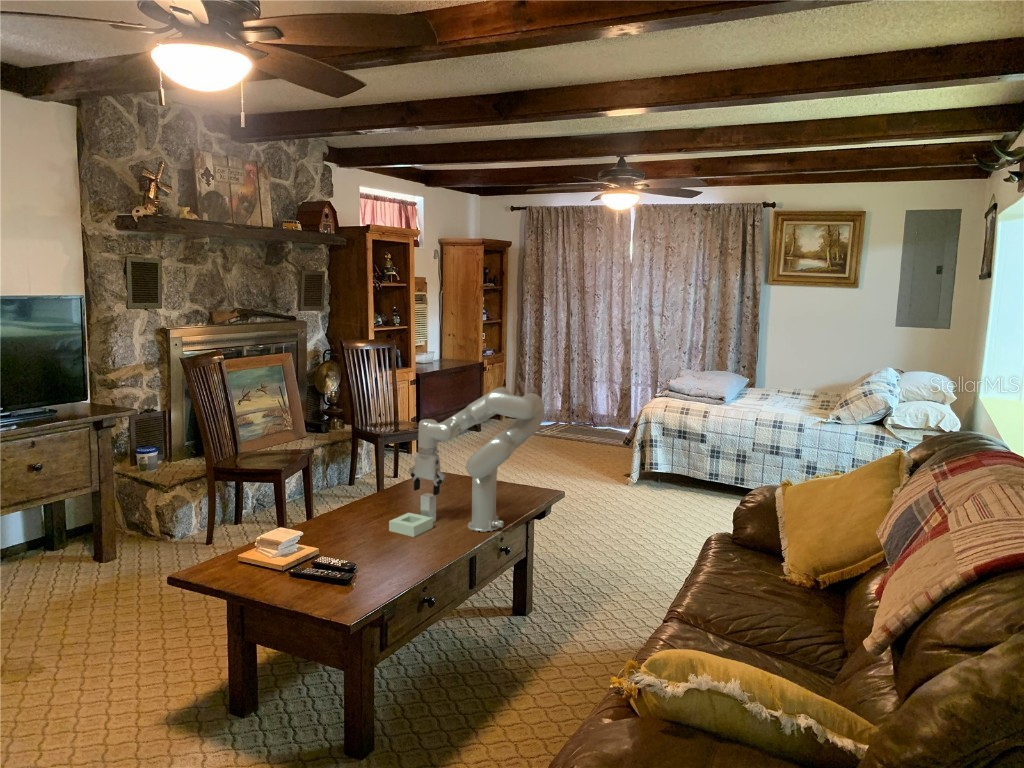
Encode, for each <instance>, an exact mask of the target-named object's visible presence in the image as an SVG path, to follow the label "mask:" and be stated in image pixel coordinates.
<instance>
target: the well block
mask: <svg viewBox="0 0 1024 768" xmlns="http://www.w3.org/2000/svg"><path fill="white" fill-rule="evenodd" d="M388 525H389V526H388V527H389V528H388V530H389V532H392V533H396V534H401V535H405V536H409V537H413V538H414V537H416V536H419V535H421V534H424V533H425V532H427V531H429V530H431V529H433V528H434V522H433V518H431V517H427V516H422V515H421V514H417V513H412V512H407V513H404V514H402V515H400V516H397V517H395V518H393V519H391V520H389V521H388Z"/></svg>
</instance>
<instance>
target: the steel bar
mask: <svg viewBox="0 0 1024 768" xmlns="http://www.w3.org/2000/svg"><path fill="white" fill-rule="evenodd" d="M419 497H420V515H422V516H427V517H431V518H433V523H435V522H436V521H437V495H433V493H430V492H425V493H422V494H421V495H420V496H419Z"/></svg>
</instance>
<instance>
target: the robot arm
mask: <svg viewBox="0 0 1024 768" xmlns="http://www.w3.org/2000/svg"><path fill="white" fill-rule="evenodd" d="M496 415H500V416H505V417H507V418H512V419H515V420H514V421H513V422H512V423H511V424H510V425H509V426H507V427H506V428H505V429H503V430H502V431H500V433H497V434H495V436H494V437H492V438H491V439H489V441H487V442H486V443H485V444H484V445H483V446H481V448H479V449H478V450H476V451H475V452H474V453H472V455H471V456H469V458H468V459H467V461H466V463H465V464H466V465H465V470H466V472H467V474H468V475H469V476H470V477H471V478H472V480H471V481H472V482H471V483H472V484H471V521H469V522H468V523H467V528H468V529H469V530H471V531H473V530H474V532H478V531H480V533H488V532H487V531H490V532H494V531H493V530H495V531H496V530H498V529H500V528H501V529H502V528H503V527H504V524H505V523H504V520H500V519H499V515H497V477H498V468H499V467H500V466H501V465H503V464H504V463H505V461H507V460H508V459H509V458H510V457H511V456H512V455H513V454H514V452H516V450H517V449H518V448H519V447H520V446H521V445H523V444H524V443H525V442H526V441H527V440H528V439H529V438H530V437H532V436H533V435H534V434H535V433H536V431H538V429H539V428H540V426H541V424H542V423H543V420H544V418H545V416H544V415H545V405H544V402H543V399H542V398H541V397H540V395H539V394H536V393H534V392H533V393H531V392H530V393H526V394H524V395H523V396H519V395H515V394H512V393H511V392H510V390H509V389H508V388H506V387H503V386H501V387H500V386H499V387H497V388H495V389H492V390H491V391H489V392H488V393H486V394H485V395H482V396H481V397H479V398H477V399H476V400H474V401H473V402H471V403H469V404H468V405H467V406H466V407H464V409H462V410H460V411H458V412H457V413H455V414H453V415H452V416H450V417H448V418H446V419H444V420H443V421H441V422H438V421H437V420H435V419H431V418H428V419H427V418H425V419H421V420H420V421H419V423H418V435H417V436H418V439H417V441H418V442H417V443H418V445H417V453H416V455H415V460H414V466H411V467H410V468H408V471H409V474H410V477H411V478H412V479H411V480H412V481H413V491H418V490H420V489H421V480H420V479H423V480H424V479H425V480H427V481H428V480H429V481H432V482H433V484H434V485H433V489H432V490H433V491H432V494H433V495H436V496H437V495H439V494H440V490H441V489H440V488H441V484H442V483H444V481H445V478H446V475H445V474H444V473H443V472H442V471H441V460H440V454H439V453H440V450H439V449H438V442H449V441H451V440H453V439H454V438H455V437H456V436H458V435H460V434H461V433H463V432H465V431H466V430H468V429H469V428H471V427H473V426H475V425H479V424H482V423H484V422H485V421H487V420H489V419H490V418H492V417H493V416H496Z"/></svg>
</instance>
